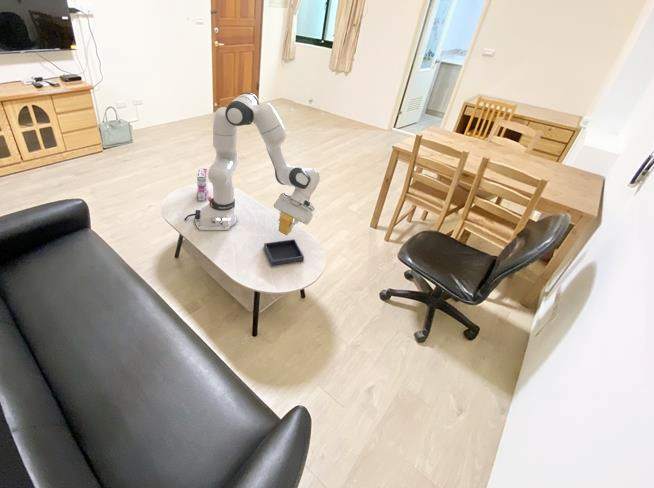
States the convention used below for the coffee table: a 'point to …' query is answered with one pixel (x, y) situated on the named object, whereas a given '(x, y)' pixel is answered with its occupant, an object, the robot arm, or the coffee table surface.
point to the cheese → (285, 224)
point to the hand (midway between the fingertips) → (285, 224)
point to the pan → (283, 252)
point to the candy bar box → (202, 184)
